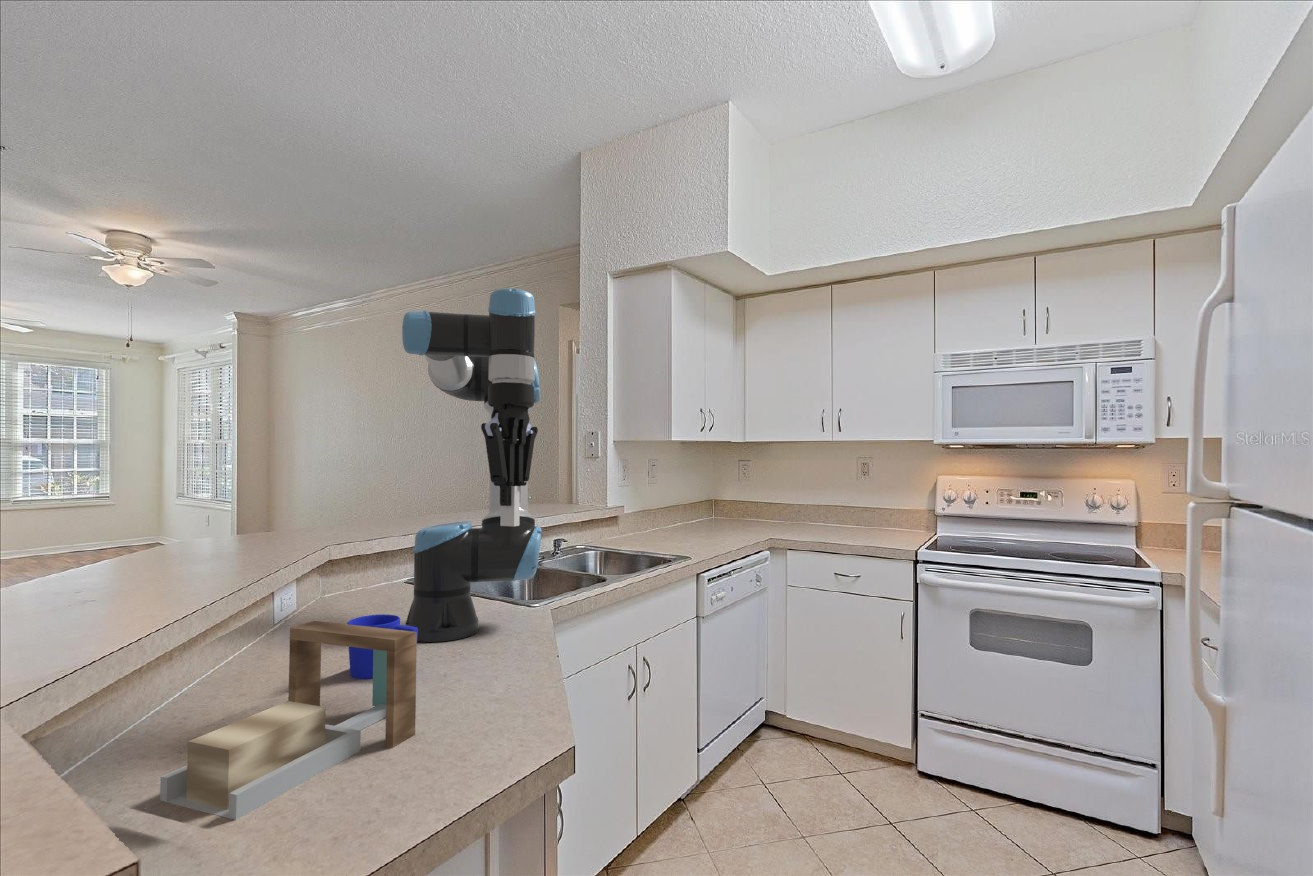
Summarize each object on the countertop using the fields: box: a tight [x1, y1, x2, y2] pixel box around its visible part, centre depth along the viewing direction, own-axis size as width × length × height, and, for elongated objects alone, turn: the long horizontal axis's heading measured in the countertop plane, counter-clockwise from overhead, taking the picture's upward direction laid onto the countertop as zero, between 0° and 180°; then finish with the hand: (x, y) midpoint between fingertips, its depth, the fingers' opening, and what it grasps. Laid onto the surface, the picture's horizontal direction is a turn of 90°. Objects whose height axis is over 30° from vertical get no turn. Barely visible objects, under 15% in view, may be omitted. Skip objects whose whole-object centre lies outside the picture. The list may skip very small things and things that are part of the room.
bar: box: [186, 700, 326, 810], centre depth 71 cm, size 12×6×6 cm, turn 161°
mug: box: [346, 613, 418, 680], centre depth 107 cm, size 8×12×10 cm
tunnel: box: [287, 620, 418, 749], centre depth 84 cm, size 4×17×14 cm, turn 71°
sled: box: [159, 650, 387, 821], centre depth 78 cm, size 28×11×10 cm, turn 161°
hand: (509, 525), depth 105 cm, fingers closed
